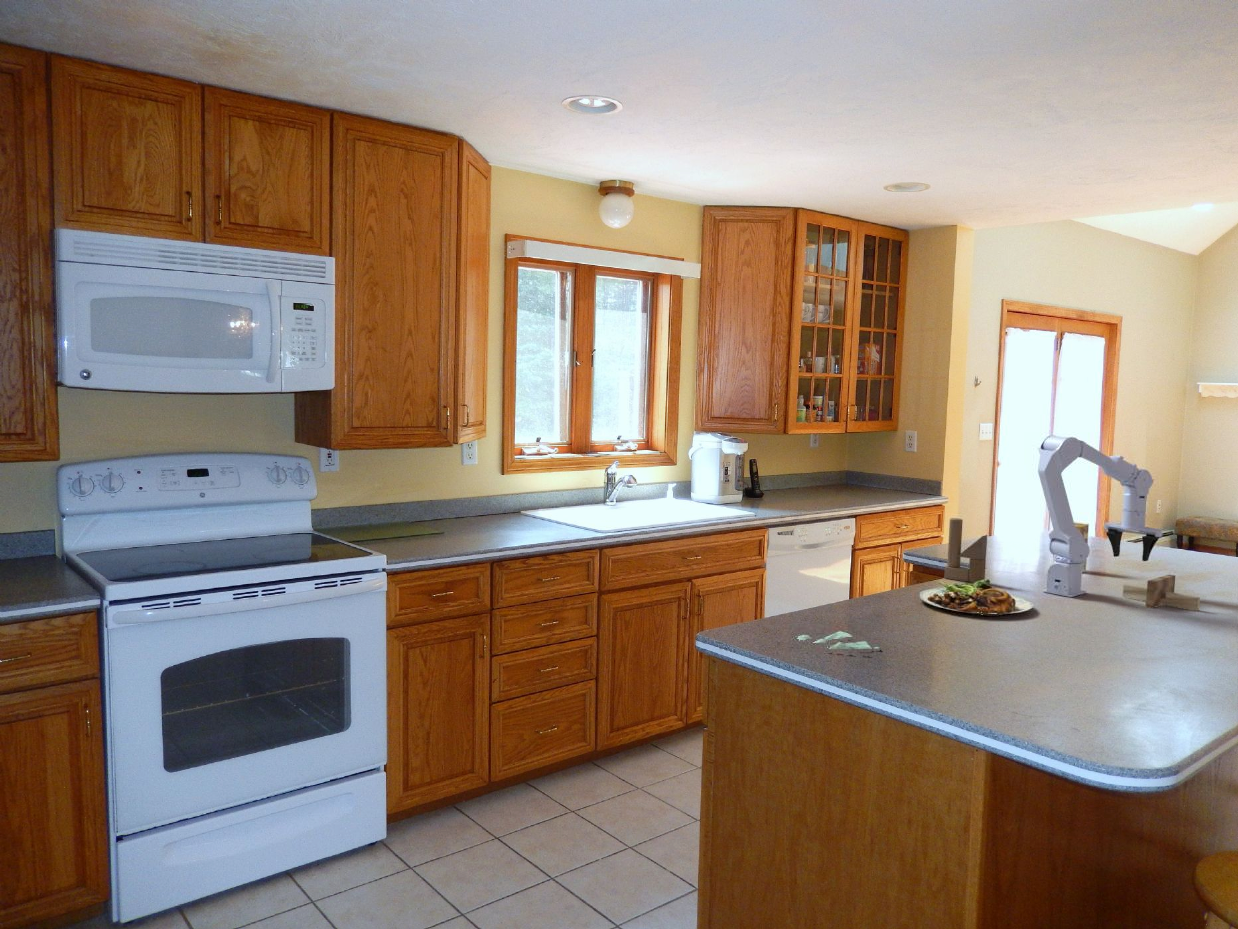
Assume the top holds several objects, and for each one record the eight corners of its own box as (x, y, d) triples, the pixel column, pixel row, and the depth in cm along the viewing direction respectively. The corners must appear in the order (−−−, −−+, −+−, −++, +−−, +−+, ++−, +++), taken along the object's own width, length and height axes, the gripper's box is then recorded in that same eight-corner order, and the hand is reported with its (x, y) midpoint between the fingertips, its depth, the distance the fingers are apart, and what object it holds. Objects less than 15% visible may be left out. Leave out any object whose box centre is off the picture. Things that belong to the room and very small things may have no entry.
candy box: (1086, 571, 278) (1089, 523, 276) (1081, 573, 275) (1084, 524, 274) (1056, 567, 284) (1059, 520, 283) (1051, 569, 281) (1054, 521, 280)
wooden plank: (1152, 608, 232) (1154, 581, 232) (1145, 606, 234) (1147, 580, 233) (1173, 600, 241) (1175, 575, 240) (1166, 599, 242) (1168, 574, 242)
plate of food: (958, 589, 251) (958, 568, 250) (1055, 609, 229) (1055, 586, 228) (896, 605, 235) (897, 583, 234) (994, 629, 212) (995, 604, 212)
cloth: (776, 640, 199) (776, 629, 199) (858, 632, 207) (858, 622, 207) (828, 667, 180) (828, 655, 180) (916, 657, 188) (916, 646, 188)
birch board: (1196, 611, 230) (1197, 598, 230) (1122, 597, 244) (1123, 584, 244) (1198, 610, 231) (1199, 597, 231) (1125, 596, 245) (1126, 584, 245)
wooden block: (980, 584, 257) (983, 523, 255) (943, 578, 264) (947, 518, 263) (985, 582, 260) (988, 521, 258) (949, 576, 267) (952, 517, 265)
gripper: (1168, 513, 246) (1164, 561, 248) (1113, 506, 258) (1110, 552, 259) (1157, 514, 242) (1154, 564, 243) (1102, 508, 253) (1099, 555, 255)
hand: (1130, 558), depth 251 cm, fingers open, 7 cm apart
